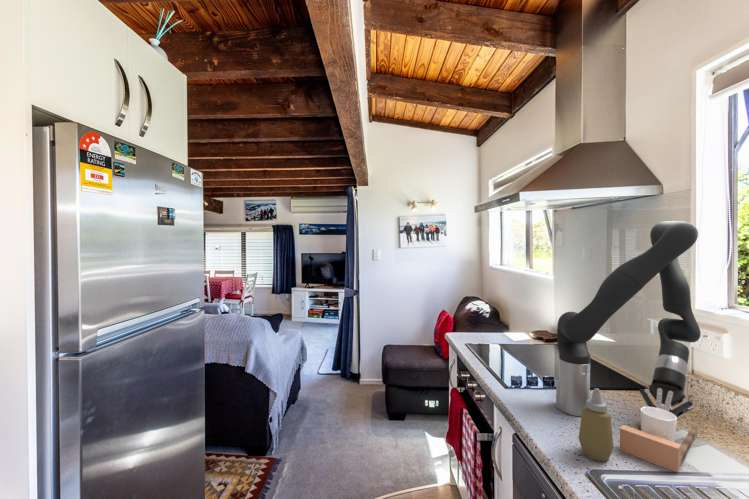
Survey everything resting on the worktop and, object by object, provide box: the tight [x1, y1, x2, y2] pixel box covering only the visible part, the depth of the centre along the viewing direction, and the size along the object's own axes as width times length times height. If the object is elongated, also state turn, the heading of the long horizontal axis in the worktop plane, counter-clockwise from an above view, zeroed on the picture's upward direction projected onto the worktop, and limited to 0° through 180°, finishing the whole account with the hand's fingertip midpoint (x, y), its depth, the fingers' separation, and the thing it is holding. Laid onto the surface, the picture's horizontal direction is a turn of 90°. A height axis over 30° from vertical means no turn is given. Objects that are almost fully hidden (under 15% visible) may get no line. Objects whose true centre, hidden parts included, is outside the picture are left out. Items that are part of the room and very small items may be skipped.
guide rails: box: [632, 417, 698, 469], centre depth 101 cm, size 24×12×2 cm, turn 130°
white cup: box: [639, 406, 678, 443], centre depth 97 cm, size 8×8×10 cm
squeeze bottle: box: [578, 387, 615, 462], centre depth 94 cm, size 8×8×18 cm
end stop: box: [618, 424, 682, 473], centre depth 93 cm, size 3×12×6 cm, turn 40°
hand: (660, 426), depth 100 cm, fingers closed
